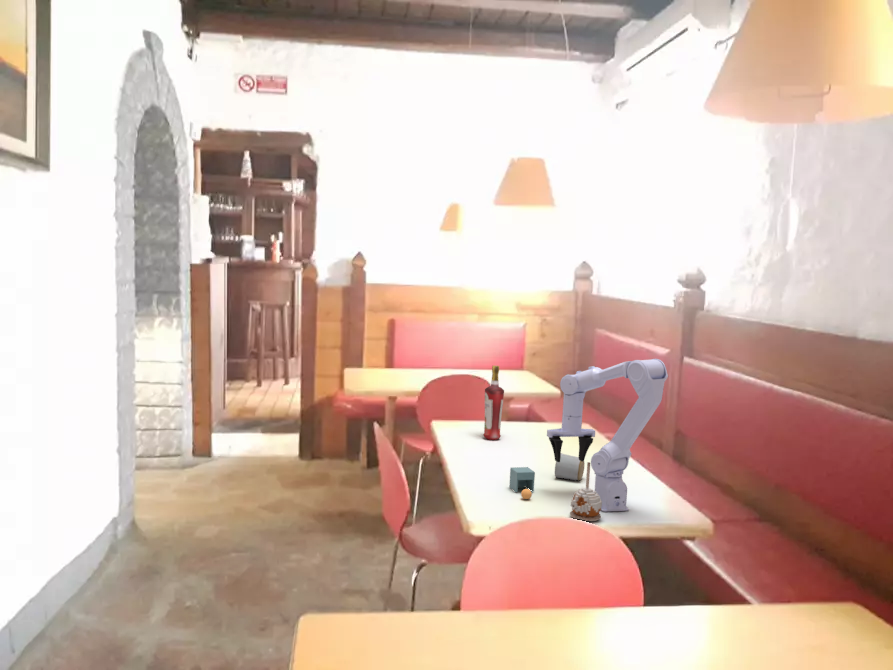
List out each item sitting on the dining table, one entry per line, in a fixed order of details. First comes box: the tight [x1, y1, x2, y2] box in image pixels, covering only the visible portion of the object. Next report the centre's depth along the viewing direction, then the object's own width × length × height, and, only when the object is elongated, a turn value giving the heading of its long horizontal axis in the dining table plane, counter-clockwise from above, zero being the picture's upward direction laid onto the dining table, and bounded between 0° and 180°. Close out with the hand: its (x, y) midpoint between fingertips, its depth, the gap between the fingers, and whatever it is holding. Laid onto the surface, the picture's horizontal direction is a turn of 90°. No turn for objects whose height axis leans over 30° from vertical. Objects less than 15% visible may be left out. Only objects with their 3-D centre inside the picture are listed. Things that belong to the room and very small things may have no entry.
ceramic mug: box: [554, 452, 585, 481], centre depth 237 cm, size 11×8×8 cm
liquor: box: [482, 365, 505, 441], centre depth 285 cm, size 7×7×28 cm
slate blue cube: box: [508, 466, 536, 493], centre depth 221 cm, size 6×6×6 cm
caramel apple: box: [569, 461, 602, 522], centre depth 198 cm, size 8×8×15 cm
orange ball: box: [520, 488, 533, 500], centre depth 212 cm, size 3×3×3 cm
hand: (569, 460), depth 220 cm, fingers open, 7 cm apart
